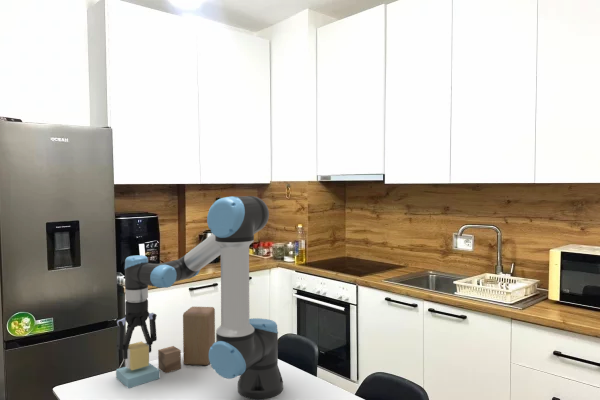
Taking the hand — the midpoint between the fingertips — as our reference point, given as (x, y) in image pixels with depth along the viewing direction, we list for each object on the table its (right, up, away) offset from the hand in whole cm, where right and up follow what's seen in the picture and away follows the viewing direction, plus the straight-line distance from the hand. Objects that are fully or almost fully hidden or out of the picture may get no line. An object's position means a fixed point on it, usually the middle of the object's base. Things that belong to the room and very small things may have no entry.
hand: (137, 364), depth 154 cm
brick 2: (+9, -5, +8) cm, 13 cm away
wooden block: (+19, -5, +16) cm, 25 cm away
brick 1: (0, 0, 0) cm, 1 cm away
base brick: (0, -5, 0) cm, 5 cm away
